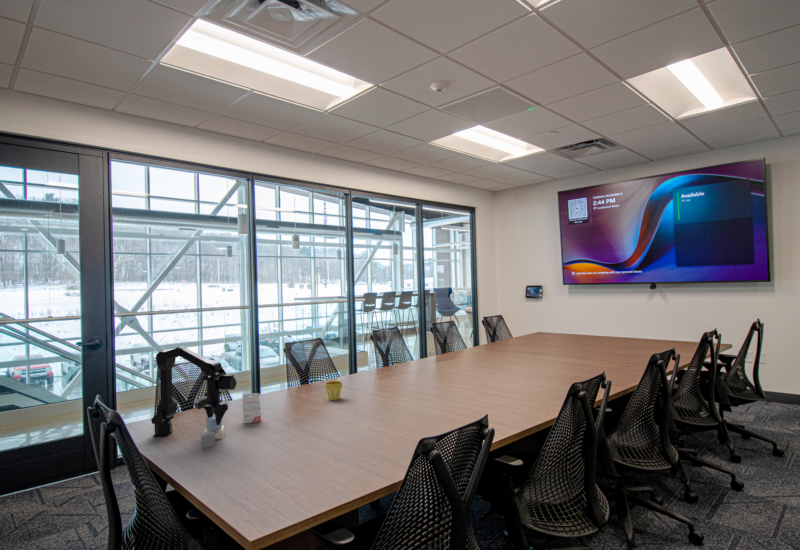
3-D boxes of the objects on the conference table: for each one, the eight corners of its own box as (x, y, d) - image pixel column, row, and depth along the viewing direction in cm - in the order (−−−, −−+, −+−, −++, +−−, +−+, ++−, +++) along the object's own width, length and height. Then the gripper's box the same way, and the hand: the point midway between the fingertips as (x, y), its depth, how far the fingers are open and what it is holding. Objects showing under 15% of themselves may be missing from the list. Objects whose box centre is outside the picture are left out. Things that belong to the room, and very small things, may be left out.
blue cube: (210, 431, 204) (210, 420, 204) (206, 428, 207) (206, 418, 207) (221, 428, 207) (221, 417, 207) (217, 426, 211) (216, 415, 211)
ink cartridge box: (261, 419, 233) (260, 390, 233) (260, 421, 228) (260, 392, 228) (243, 420, 230) (243, 392, 231) (243, 423, 226) (242, 394, 226)
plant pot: (323, 397, 272) (323, 381, 273) (339, 395, 277) (339, 379, 277) (328, 401, 263) (327, 385, 263) (344, 399, 267) (344, 383, 268)
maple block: (203, 441, 202) (203, 432, 202) (206, 435, 210) (206, 426, 210) (222, 439, 204) (221, 430, 204) (224, 433, 212) (224, 425, 212)
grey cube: (201, 447, 193) (201, 436, 193) (202, 444, 198) (202, 432, 198) (213, 446, 195) (213, 434, 195) (214, 442, 200) (214, 431, 200)
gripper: (188, 389, 209) (188, 423, 208) (203, 396, 195) (203, 431, 195) (212, 385, 216) (212, 417, 216) (228, 391, 203) (229, 425, 203)
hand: (213, 423), depth 207 cm, fingers open, 9 cm apart
